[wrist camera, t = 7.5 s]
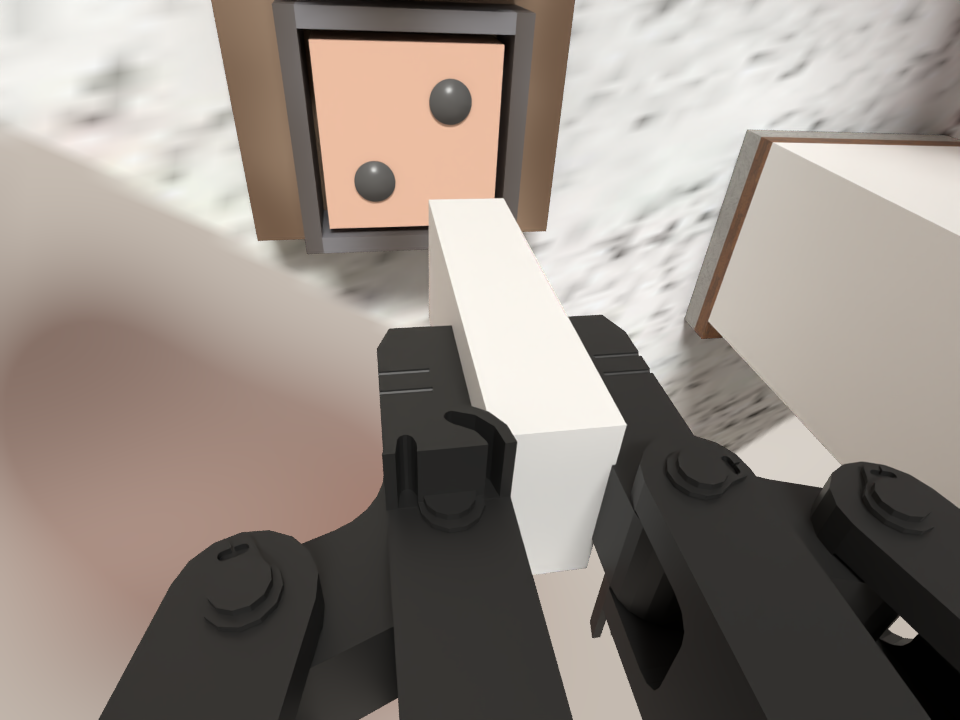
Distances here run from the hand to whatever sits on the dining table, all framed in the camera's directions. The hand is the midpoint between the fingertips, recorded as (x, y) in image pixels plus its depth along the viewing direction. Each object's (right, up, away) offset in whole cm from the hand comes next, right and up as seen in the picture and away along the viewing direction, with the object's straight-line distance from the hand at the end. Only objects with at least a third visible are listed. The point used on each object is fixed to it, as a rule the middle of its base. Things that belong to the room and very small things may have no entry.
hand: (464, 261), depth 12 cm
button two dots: (-2, +6, +9) cm, 11 cm away
